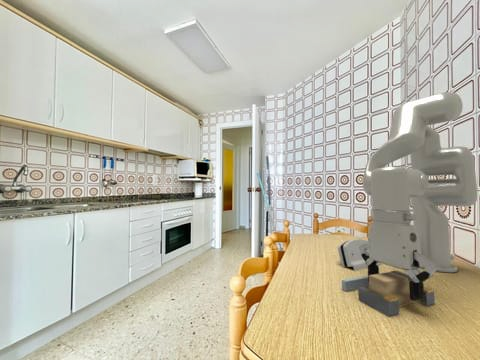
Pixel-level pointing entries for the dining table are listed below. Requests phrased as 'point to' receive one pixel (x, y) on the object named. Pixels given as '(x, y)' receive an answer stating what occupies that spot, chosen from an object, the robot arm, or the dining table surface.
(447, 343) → the dining table surface
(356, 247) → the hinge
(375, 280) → the brown box
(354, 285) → the plank
